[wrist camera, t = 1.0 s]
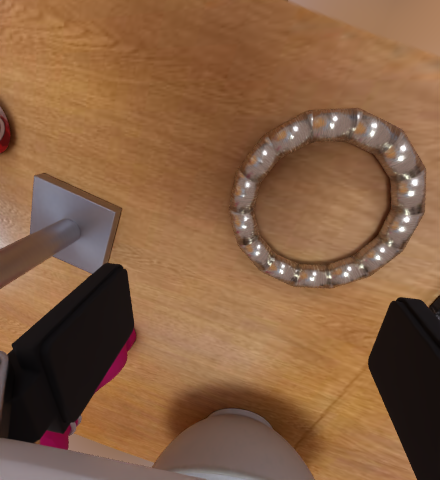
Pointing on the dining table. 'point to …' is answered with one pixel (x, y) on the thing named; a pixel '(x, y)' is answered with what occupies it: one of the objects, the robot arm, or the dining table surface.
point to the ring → (324, 130)
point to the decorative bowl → (233, 450)
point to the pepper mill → (62, 439)
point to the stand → (62, 230)
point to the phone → (436, 308)
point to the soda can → (4, 132)
